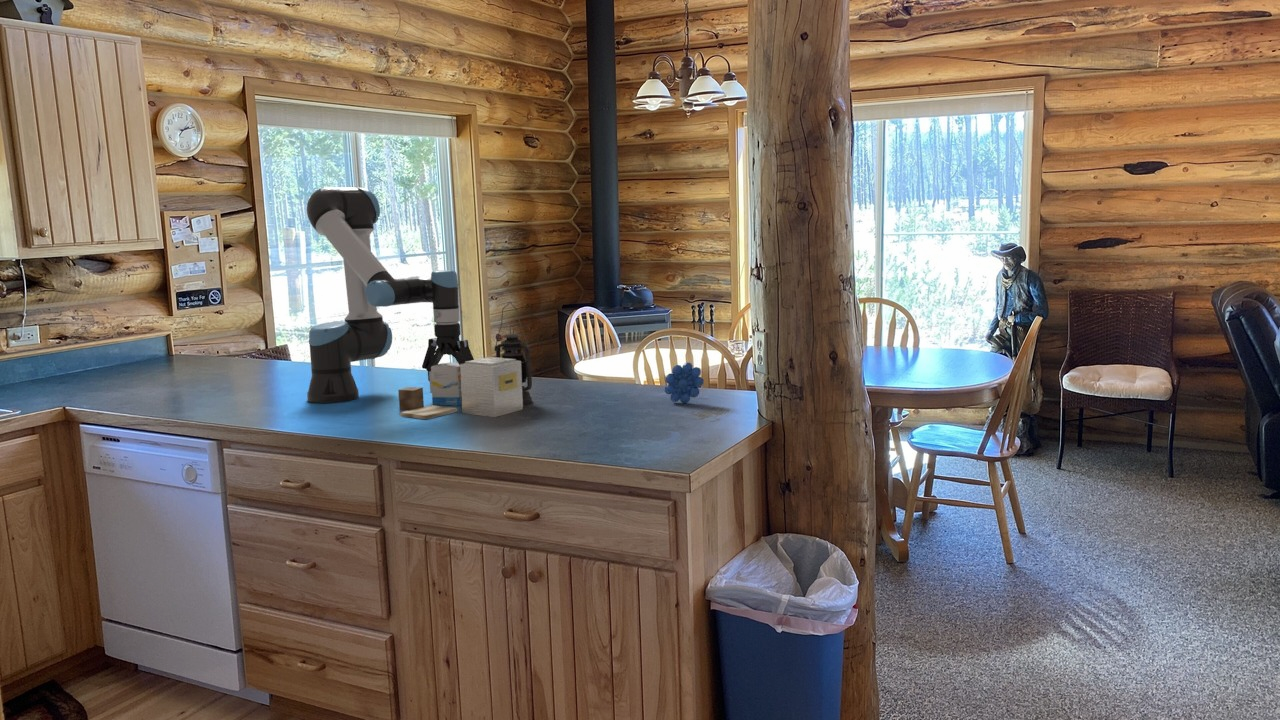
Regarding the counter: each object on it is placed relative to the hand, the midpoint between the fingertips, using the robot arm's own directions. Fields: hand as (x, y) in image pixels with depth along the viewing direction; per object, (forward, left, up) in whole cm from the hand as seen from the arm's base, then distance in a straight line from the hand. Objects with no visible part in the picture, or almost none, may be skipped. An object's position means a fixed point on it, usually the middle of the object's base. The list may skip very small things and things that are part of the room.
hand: (451, 394), depth 284 cm
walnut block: (-4, -12, -3) cm, 13 cm away
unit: (+20, -4, -3) cm, 20 cm away
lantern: (+17, +9, -3) cm, 19 cm away
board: (+6, -15, -3) cm, 16 cm away
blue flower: (+62, +31, -3) cm, 70 cm away
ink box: (0, 0, -3) cm, 3 cm away
